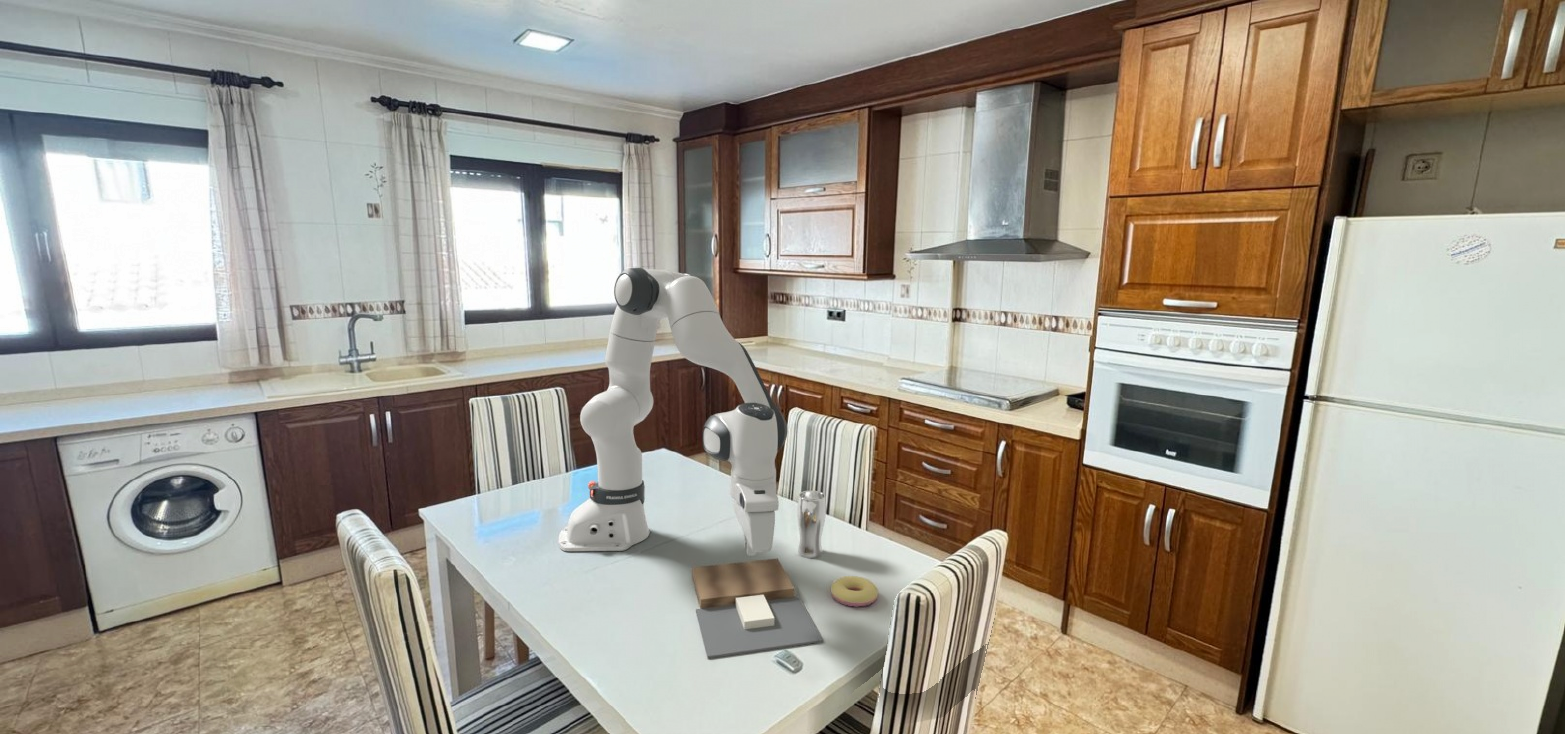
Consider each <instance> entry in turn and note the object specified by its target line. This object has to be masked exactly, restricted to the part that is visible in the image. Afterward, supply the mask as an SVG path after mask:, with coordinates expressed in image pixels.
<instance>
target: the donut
mask: <svg viewBox="0 0 1565 734" xmlns="http://www.w3.org/2000/svg"><path fill="white" fill-rule="evenodd" d="M830 594H831V596H832V597H833V598H834V600H835V601H836V602H838V603H840V604H841V605H844V606H847V605H848V607H852V606H854V607H853V608H859V606H863V607H867V606H869V604H870V605H871V603H872V604H874V602H875V601H876V600H877V599H878V595H879V592H878V588H877V586H876V584H874V582H872V581H871V580H869V579H867V578H865V577H862V576H854V575H848V576H843V577H840V578H837V579H835V580H834V581H833V582H832V584H831V586H830ZM866 605H867V606H866Z"/></svg>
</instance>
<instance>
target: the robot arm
mask: <svg viewBox="0 0 1565 734" xmlns="http://www.w3.org/2000/svg"><path fill="white" fill-rule="evenodd" d="M613 289H614V290H613V294H614V300H615V303H616V307H615V309H614V313H613V317H612V321H611V325H610V327H609V328H610V329H609V334H608V341H607V347H606V351H605V357H604V363H605V366H606V367H607V369H608V375H609V376H608V377H609V384H608V388H607V390H605V391H603V392H600V393H598V394H595V395H594V396H593V397H592V398H591V399H589V400H588V402H587V403H585V404H584V406H583V407H582V408H581V411H580V415H579V418H580V419H579V420H580V424H581V427H582V429H583V430H584V432H585V433H586V434H587V435H588V436H589V437H590V438H591V440H592V443H593V445H594V451H595V454H596V455H595V456H596V464H597V465H596V466H597V468H596V469H597V482H596V481H595V480H591V481H589V482H588V485H587V486H588V489H589V498H588V499H587V500H585V501H584V502H583V503H581V504H580V505H579V506H577V507H576V508H575V509H574V510H572V512H571V514H570V516H569V519H568V522H567V526H565V527H563V528H562V529H561V531H560V532H559V535H558V546H559V548H560V549H561V551H564V552H617V551H618V552H620V551H626V550H629V548H631V547H632V546H633V545H636V544H639V543H640V542H642V541H644V540H646V539H647V538H648V537H649V536H650V529H649V526H648V522H647V518H646V512H645V505H644V503H645V499H646V494H645V493H646V490H645V489H646V485H645V481H644V480H643V453H642V450H641V449H640V448H639V447H638V446H637V444H636V441H635V436H634V428H635V427H634V426H637V425H638V424H640V423H641V422H643V421H644V420H645V419H646V418H647V417H648V415H649V414H650V413H651V411H652V409H653V406H654V396H653V394H652V391H651V378H650V377H651V375H650V374H651V365H652V360H653V355H654V348H655V344H656V338H657V333H658V327H659V323H660V321H661V320H662V319H663V318H667V319H668V322H669V323H668V324H669V327H670V330H671V334H672V337H673V341H674V344H675V346H676V348H677V350H678V351H679V353H680V354H681V355H682V357H684V358H685V359H686V360H688V361H690V362H691V363H693V364H695V365H698V366H702V367H707V368H711V369H713V370H716V371H719V372H721V373H723V374H725V375H726V376H728V377H729V378H731V380H732V381H733V382H734V385H735V386H736V387H737V389H738V392H739V394H740V396H741V397H742V400H743V402H744V403H741V404H739V405H737V406H736V408H735V409H733V410H729V411H726V412H725V411H724V412H720V413H719V412H718V413H715V414H713V415H710V416H709V417H708V418H707V419H706V421H705V423H704V425H703V428H702V432H701V435H702V436H701V439H702V440H701V442H702V447H703V449H704V451H705V452H706V453H707V454H708V456H710V457H711V458H713V459H715V460H718V461H719V462H720V461H721V462H729V463H730V464H731V470H730V490H729V491H730V492H729V495H730V497H731V498H732V499H734V500H733V511H734V514H735V516H736V518H737V521H738V523H739V525H740V527H741V530H742V533H743V539H744V540H743V542H744V545H743V546H744V550H745V552H746V554H747V556H748V557H749V556H756V554H757V553H766V552H770V551H771V548H772V546H773V543H774V542H773V541H774V536H775V535H774V534H775V527H776V525H775V524H776V511H779V505H780V503H779V497H778V493H777V483H776V482H777V470H776V469H777V468H776V463H775V462H776V461H775V460H776V457H777V454H778V452H779V451H780V450H781V449H782V448H783V446H784V444H785V442H786V440H787V437H788V430H789V429H788V428H789V427H788V424H787V421H786V419H785V417H784V415H783V413H782V412H781V411H780V410H779V408H778V407H777V406H776V404H775V402H774V401H773V399H772V397H771V395H770V393H769V391H768V389H767V387H766V385H765V384H764V381H763V379H762V378H761V375H760V373H759V371H758V369H757V368H756V365H755V363H754V361H753V359H752V358H751V356H750V354H749V352H748V350H747V349H746V348H745V346H744V345H743V344H742V343H741V342H739V341H737V340H736V339H735V338H734V337H733V336H732V334H731V333H730V332H729V331H728V329H727V327H726V326H725V325H724V322H723V320H722V318H721V314H720V311H719V309H718V306H717V304H716V301H715V299H714V298H713V295H712V294H711V292H710V289H709V288H708V286H707V285H706V283H705V281H703V279H701V278H699V277H698V276H695V275H692V274H689V273H681V272H678V271H673V270H669V269H655V268H654V269H652V268H643V267H630V268H627V269H623V271H621V272H620V274H619V275H618V276H617V278H616V280H615V282H614V288H613Z"/></svg>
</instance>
